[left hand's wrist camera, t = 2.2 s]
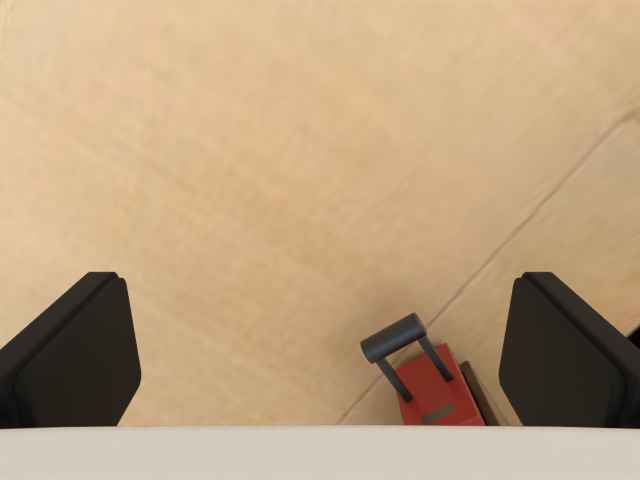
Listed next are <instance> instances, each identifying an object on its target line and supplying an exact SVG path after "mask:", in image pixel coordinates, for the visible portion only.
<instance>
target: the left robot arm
mask: <svg viewBox="0 0 640 480" xmlns="http://www.w3.org/2000/svg"><path fill="white" fill-rule="evenodd" d="M140 382H141V367H140V362H139V356H138V350H137V344H136V338H135V332H134V326H133V320H132V314H131V308H130V302H129V296H128V290H127V285H126V281H125V279H123V278H119V277H118V275H117V274H116V273H115V272H89V273H87V274H86V275H85V276H84V277H82V278H81V279H80V280H79V281H78V282H77V283H76V284H74V285H73V286H72V287H71V288H70V289H69V290H68V291H67V292H65V293H64V294H63V295H62V296H61V297H60V298H59V299H57V300H56V301H55V302H54V303H53V304H52V305H51V306H49V307H48V308H47V309H46V310H45V311H44V312H43V313H41V314H40V315H39V316H38V317H37V318H36V319H35V320H34V321H32V322H31V323H30V324H29V325H28V326H27V327H26V328H24V329H23V330H22V331H21V332H20V333H19V334H18V335H16V336H15V337H14V338H13V339H12V340H11V341H10V342H9V343H7V344H6V345H5V346H4V347H3V348H2V349H1V350H0V480H640V350H639V349H638V348H637V347H636V346H635V345H634V344H633V343H631V342H630V341H629V340H628V339H627V338H626V337H625V336H624V335H622V334H621V333H620V332H619V331H618V330H617V329H616V328H614V327H613V326H612V325H611V324H610V323H609V322H608V321H606V320H605V319H604V318H603V317H602V316H601V315H600V314H599V313H597V312H596V311H595V310H594V309H593V308H592V307H591V306H589V305H588V304H587V303H586V302H585V301H584V300H583V299H581V298H580V297H579V296H578V295H577V294H576V293H575V292H573V291H572V290H571V289H570V288H569V287H568V286H567V285H566V284H564V283H563V282H562V281H561V280H560V279H559V278H558V277H556V276H555V275H554V274H553V273H551V272H525V273H524V274H523V275H522V277H521V278H517V279H515V281H514V285H513V290H512V296H511V302H510V308H509V314H508V320H507V326H506V332H505V338H504V344H503V350H502V356H501V362H500V367H499V382H500V385H501V387H502V389H503V391H504V393H505V395H506V396H507V398H508V400H509V402H510V403H511V405H512V407H513V409H514V410H515V412H516V414H517V416H518V417H519V419H520V421H521V423H522V424H523V426H524V427H517V426H404V425H218V426H128V427H116V426H117V424H118V423H119V421H120V419H121V417H122V416H123V414H124V412H125V410H126V409H127V407H128V405H129V403H130V402H131V400H132V398H133V396H134V395H135V393H136V391H137V389H138V387H139V385H140Z"/></svg>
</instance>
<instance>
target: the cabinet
mask: <svg viewBox="0 0 640 480" xmlns="http://www.w3.org/2000/svg"><path fill="white" fill-rule="evenodd" d="M459 368H460V370H461V372H462V375H463V377H464V379H465V381H466V383H467V386H468V388H469V390H470V392H471V394H472V397H473V399H474V401H475V403H476V405H477V406H478V408H479V409H480V411H481V412H482V414H483V416H484V418H485V420H486V423H487V425H488V426H510V425H509V423H508V422H507V420H506V419H505V417H504V416H503V414H502V412H501V411H500V409H499V408H498V406H497V405H496V403H495V402H494V400H493V399H492V397H491V396H490V394H489V392H488V391H487V389H486V388H485V386H484V385H483V383H482V382H481V380H480V379H479V377H478V375H477V374H476V372H475V371H474V369H473V368H472V366H471V365H470V363H469V362H465V363H463V364H461V365H460V366H459Z"/></svg>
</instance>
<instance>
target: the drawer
mask: <svg viewBox="0 0 640 480" xmlns="http://www.w3.org/2000/svg"><path fill="white" fill-rule="evenodd" d="M426 335H427V332H426V329H425V327H424V325H423V324H422V322H421V320H420V319H419V317H418V316H417V314H416V313H412V314H410V315H408V316H406V317H405V318H403V319H401V320H399V321H397V322H396V323H394V324H392V325H390V326H388V327H386V328H385V329H383V330H381V331H379V332H377V333H376V334H374V335H372V336H370V337H368V338H367V339H365V340H363V341H361V343H360V344H361V348H362V351H363V353H364V355H365V357H366V358H367V360H368V361H369V362H370V363H372V364H373V363H375V362H376V363H377V365H378V366H379V367H380V369H381V370H382V372H383V373H384V374H385V376H386V377H387V378H388V380H389V381H390V382H391V384H392V385H393V387H394V388H395V389H396V391H397V396H398V400H399V405H400V409H401V413H402V418H403V422H404V426H488V425H487V423H486V420H485V418H484V416H483V414H482V412H481V411H480V409H479V408H478V406H477V405H476V403H475V401H474V399H473V397H472V394H471V392H470V390H469V388H468V386H467V383H466V381H465V379H464V377H463V375H462V372H461V370H460V368H459V366H458V364H457V361H456V359H455V357H454V355H453V353H452V351H451V350H450V348H449V347H448V345H447V344H446V343H445V344H443V345H441V346H439V347H437V348H434V346H433V345H432V343H431V342H430V340H429V339H428V337H427V336H426ZM416 340H418V342H419V343H420V345H421V346H422V348H423V349H424V351H425V352H426V354H424V355H422V356H420V357H418V358H416V359H415V360H413V361H411V362H409V363H407V364H405V365H403V366H401V367H399V368H398V369H396V370H394V369H393V368H392V367H391V365H390V364H389V363H388V361H387V360H386V358H385V357H386V356H388V355H390V354H392V353H394V352H396V351H398V350H399V349H401V348H403V347H405V346H407V345H409V344H411V343H412V342H414V341H416Z"/></svg>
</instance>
